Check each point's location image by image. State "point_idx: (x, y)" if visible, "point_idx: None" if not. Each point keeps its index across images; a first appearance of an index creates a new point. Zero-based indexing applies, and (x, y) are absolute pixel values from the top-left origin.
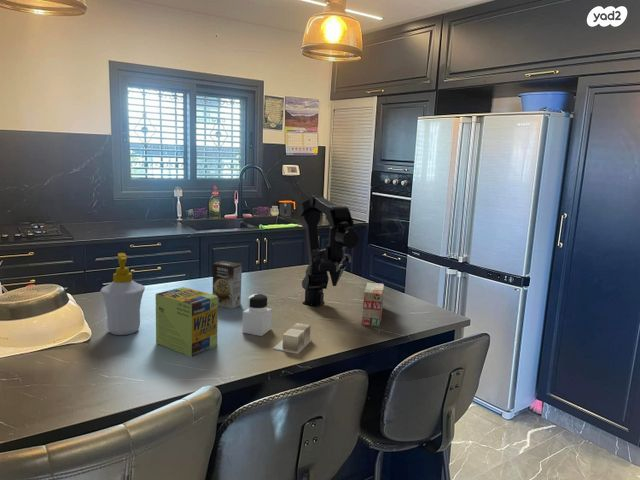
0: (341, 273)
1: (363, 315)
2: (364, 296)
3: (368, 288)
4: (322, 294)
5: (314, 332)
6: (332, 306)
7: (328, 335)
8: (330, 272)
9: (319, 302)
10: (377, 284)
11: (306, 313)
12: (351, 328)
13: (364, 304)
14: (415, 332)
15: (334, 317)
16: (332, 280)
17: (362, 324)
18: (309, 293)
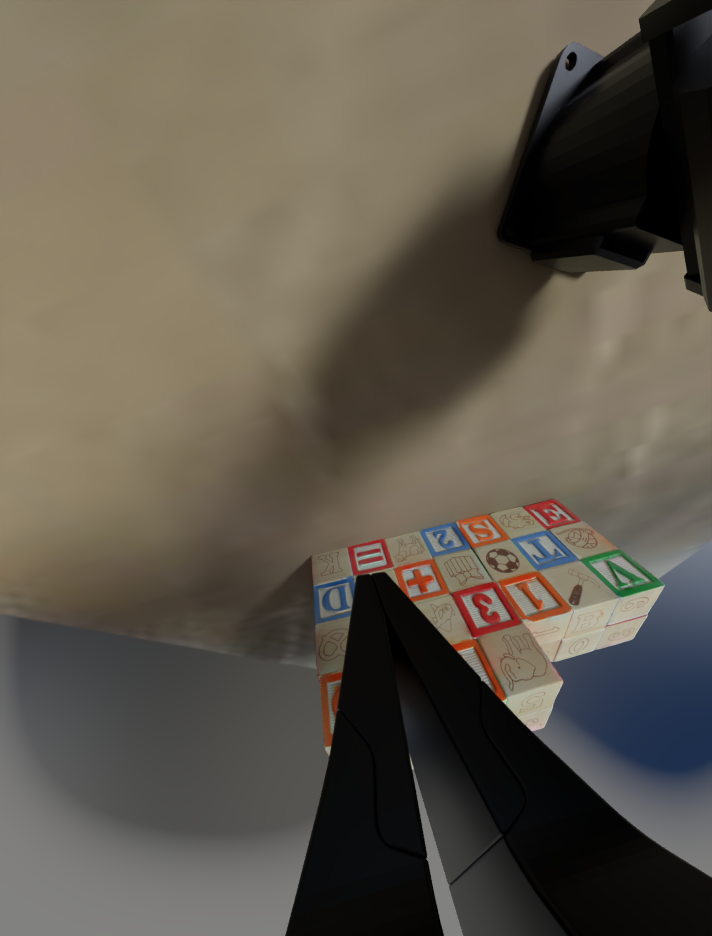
0: (440, 855)
1: (314, 595)
2: (323, 707)
3: None
4: (613, 263)
5: (19, 418)
6: (527, 348)
7: (57, 497)
8: (307, 916)
9: (539, 252)
10: (525, 720)
11: (327, 209)
12: (239, 541)
13: (319, 653)
14: None
15: (343, 427)
16: (346, 655)
17: (312, 558)
18: (626, 92)
